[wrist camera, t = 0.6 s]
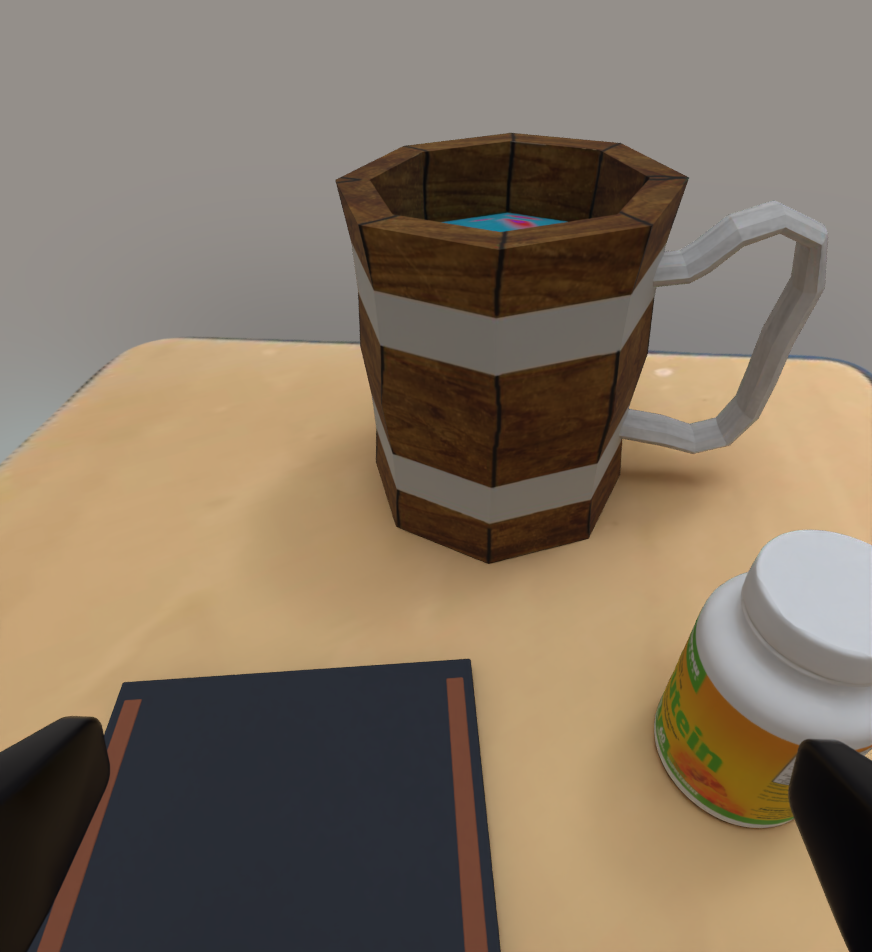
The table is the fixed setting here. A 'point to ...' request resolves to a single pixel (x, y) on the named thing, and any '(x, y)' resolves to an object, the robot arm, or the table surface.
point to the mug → (535, 327)
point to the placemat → (287, 818)
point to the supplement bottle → (771, 676)
